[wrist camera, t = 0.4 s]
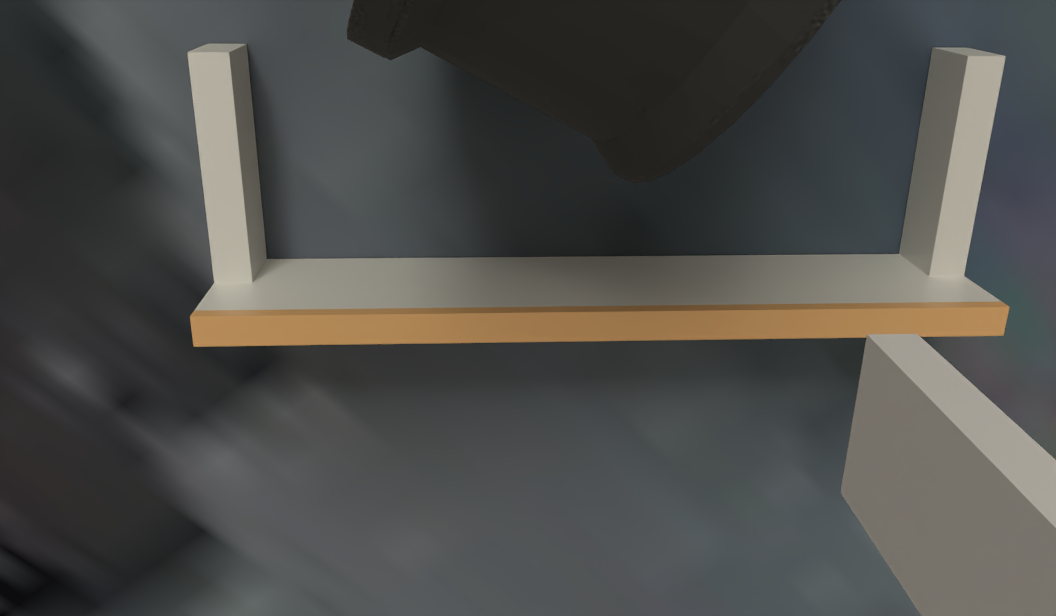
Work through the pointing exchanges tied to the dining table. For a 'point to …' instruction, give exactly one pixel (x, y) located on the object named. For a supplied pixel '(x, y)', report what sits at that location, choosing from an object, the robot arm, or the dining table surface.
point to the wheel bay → (599, 281)
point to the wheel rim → (610, 61)
